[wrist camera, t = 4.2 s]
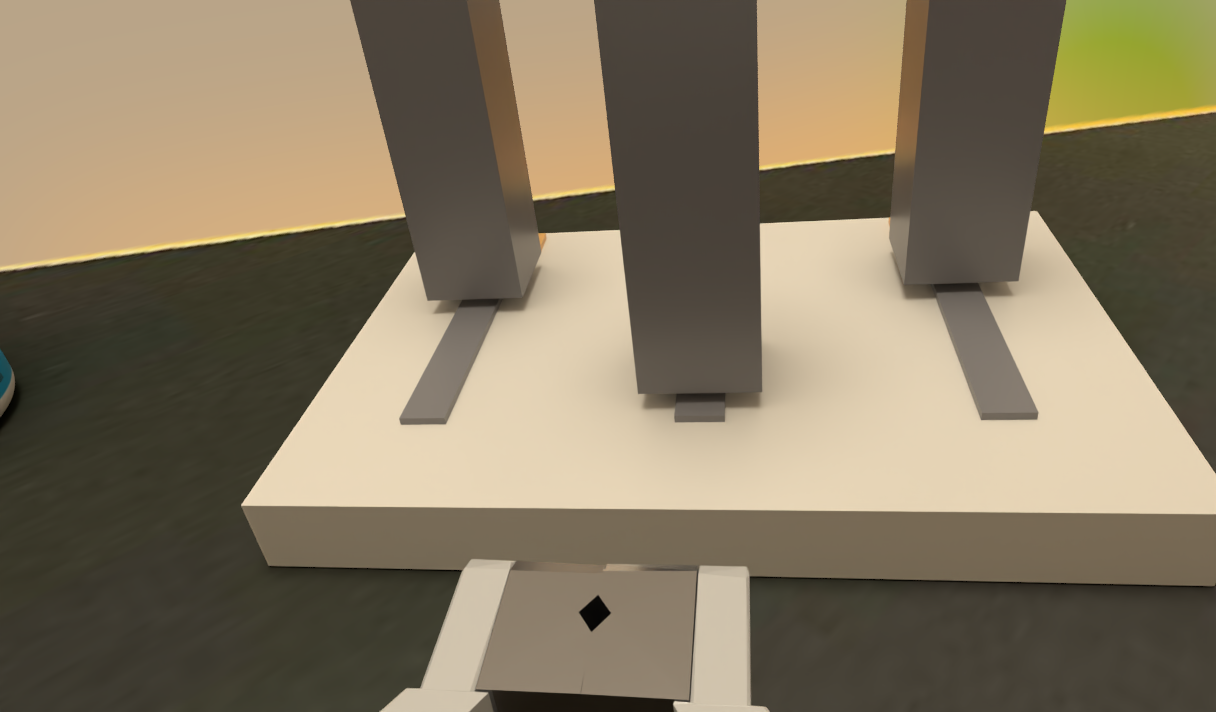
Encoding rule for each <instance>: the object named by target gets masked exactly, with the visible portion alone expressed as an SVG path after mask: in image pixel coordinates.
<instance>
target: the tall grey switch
mask: <svg viewBox="0 0 1216 712" xmlns="http://www.w3.org/2000/svg"><path fill="white" fill-rule="evenodd" d="M1065 5H1066V0H907V3H906V18H905V31H904V44H903V57H902V71H901V83H900V97H899V111H898V123H897V124H898V125H897V137H896V150H895V163H894V177H893V190H892V203H891V217H890V230H889V240H890V243H891V246H892V249H893V252H894V255H895V258H896V261H897V265H898V268H899V271H900V274H901V277H902V280H903V283H904V285H921V284H951V283H982V282H1012V281H1019V275H1020V269H1021V263H1022V257H1023V252H1024V246H1025V240H1026V234H1027V228H1028V222H1029V216H1030V210H1031V205H1032V199H1033V193H1034V187H1035V181H1036V175H1037V169H1038V163H1039V158H1040V152H1041V146H1042V140H1043V134H1044V128H1045V122H1046V116H1047V110H1048V105H1049V99H1050V93H1051V86H1052V81H1053V75H1054V69H1055V64H1056V57H1057V52H1058V46H1059V40H1060V34H1061V28H1062V22H1063V16H1064V11H1065Z"/></svg>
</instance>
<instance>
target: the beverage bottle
mask: <svg viewBox="0 0 1216 712" xmlns="http://www.w3.org/2000/svg"><path fill="white" fill-rule="evenodd" d="M14 389H15V378H14V373H13V370H12V368H11V366H10V365H9V363H8V361H7V359H6V358H5V356H4V354H3V353H2V351H1V349H0V417H1V416H2V414H3V413H4V412H5V410H6V409H7V407H8V405H9V403H10V401H11V399H12V397H13V393H14Z"/></svg>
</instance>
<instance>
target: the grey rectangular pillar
mask: <svg viewBox="0 0 1216 712" xmlns="http://www.w3.org/2000/svg"><path fill="white" fill-rule="evenodd" d="M594 4H595V13H596V21H597V31H598V39H599V48H600V58H601V66H602V76H603V84H604V93H605V102H606V111H607V120H608V129H609V138H610V146H611V156H612V165H613V174H614V183H615V192H616V201H617V210H618V219H619V228H620V237H621V246H622V255H623V264H624V273H625V282H626V291H627V300H628V309H629V318H630V326H631V335H632V344H633V353H634V362H635V371H636V380H637V389H638V394H679V393H753V392H762V336H761V267H760V199H759V138H758V137H759V136H758V135H759V133H758V132H759V130H758V67H757V66H758V62H757V0H594Z"/></svg>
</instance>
